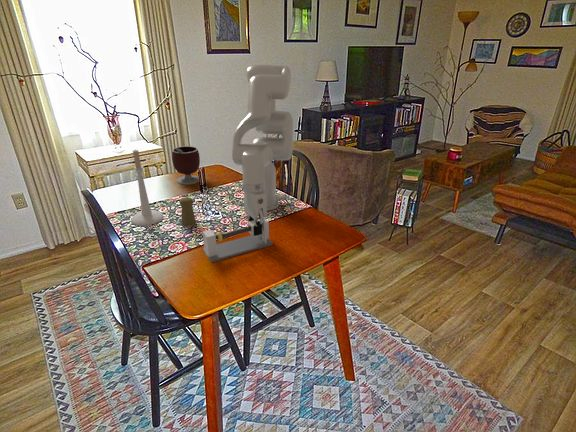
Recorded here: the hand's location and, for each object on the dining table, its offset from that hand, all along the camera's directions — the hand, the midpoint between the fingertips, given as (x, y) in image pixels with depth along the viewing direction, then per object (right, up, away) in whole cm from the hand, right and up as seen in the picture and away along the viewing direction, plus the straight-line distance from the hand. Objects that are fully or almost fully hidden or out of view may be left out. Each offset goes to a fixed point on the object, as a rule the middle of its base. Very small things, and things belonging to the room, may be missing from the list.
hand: (255, 231), depth 131 cm
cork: (-29, +3, +16) cm, 33 cm away
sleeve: (0, 0, 0) cm, 0 cm away
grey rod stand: (-6, -6, -1) cm, 8 cm away
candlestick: (-47, +4, +18) cm, 51 cm away
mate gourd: (-42, +25, +59) cm, 76 cm away
